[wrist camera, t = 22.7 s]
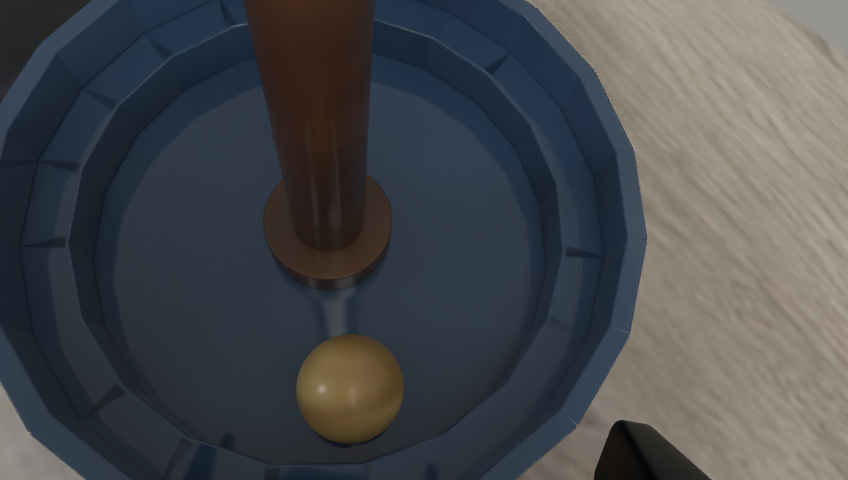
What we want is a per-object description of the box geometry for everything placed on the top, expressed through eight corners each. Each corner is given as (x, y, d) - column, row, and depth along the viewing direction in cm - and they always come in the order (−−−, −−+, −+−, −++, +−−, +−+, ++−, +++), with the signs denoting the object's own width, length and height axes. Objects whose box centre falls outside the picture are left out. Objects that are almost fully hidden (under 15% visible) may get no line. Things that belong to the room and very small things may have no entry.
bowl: (619, 525, 20) (692, 537, 15) (-14, 542, 18) (-127, 562, 14) (564, 35, 26) (604, -51, 22) (93, 8, 24) (38, -91, 20)
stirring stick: (414, 244, 21) (515, -128, 8) (313, 315, 20) (246, 9, 7) (343, 156, 22) (333, -307, 9) (243, 219, 21) (67, -210, 8)
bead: (323, 479, 16) (326, 371, 16) (279, 423, 19) (279, 327, 18) (421, 447, 18) (428, 348, 17) (368, 400, 20) (373, 311, 20)
